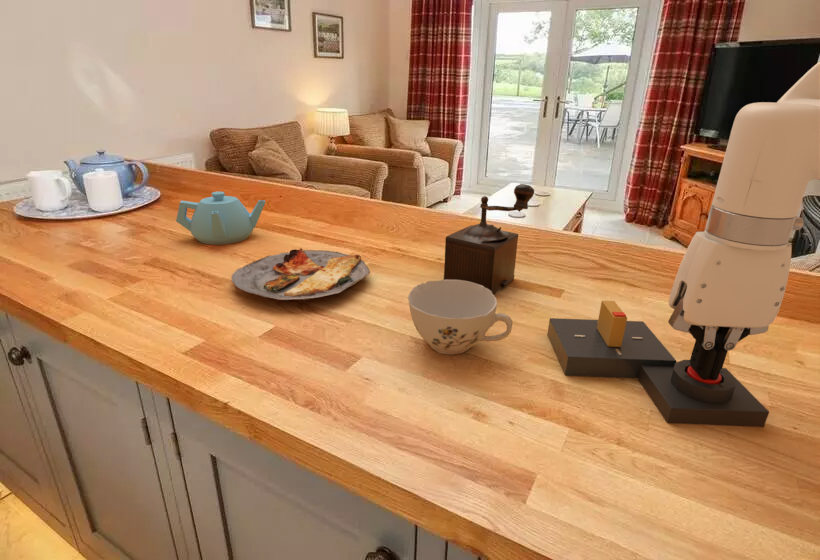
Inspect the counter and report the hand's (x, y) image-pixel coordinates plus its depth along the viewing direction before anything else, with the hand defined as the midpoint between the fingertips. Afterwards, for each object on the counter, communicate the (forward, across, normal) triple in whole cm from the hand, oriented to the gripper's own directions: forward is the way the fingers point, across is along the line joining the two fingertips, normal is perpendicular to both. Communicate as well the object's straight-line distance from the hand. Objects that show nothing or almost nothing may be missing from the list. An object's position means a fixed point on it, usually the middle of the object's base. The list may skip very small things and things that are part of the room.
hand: (703, 372), depth 59 cm
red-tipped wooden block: (+1, +8, -10) cm, 13 cm away
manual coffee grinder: (+4, +22, -38) cm, 44 cm away
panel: (+4, +8, -10) cm, 13 cm away
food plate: (+5, +57, -33) cm, 66 cm away
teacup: (+4, +29, -11) cm, 31 cm away
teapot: (+5, +82, -58) cm, 100 cm away
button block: (+4, 0, 0) cm, 4 cm away
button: (+2, 0, 0) cm, 2 cm away
